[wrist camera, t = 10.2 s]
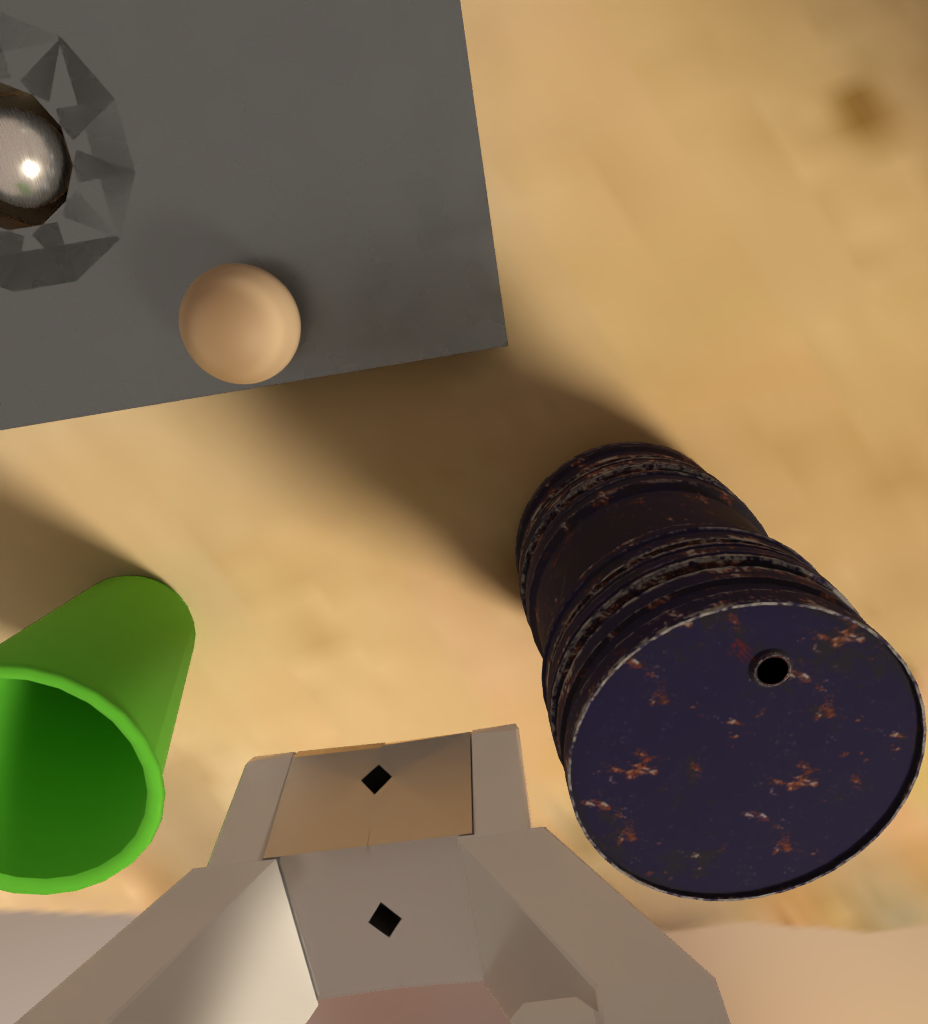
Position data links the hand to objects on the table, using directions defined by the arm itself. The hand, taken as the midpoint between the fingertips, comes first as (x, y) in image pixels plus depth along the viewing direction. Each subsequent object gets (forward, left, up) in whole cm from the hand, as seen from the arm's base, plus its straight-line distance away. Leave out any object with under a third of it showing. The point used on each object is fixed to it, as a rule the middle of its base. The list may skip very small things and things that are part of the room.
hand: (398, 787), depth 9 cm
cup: (+15, +9, -25) cm, 30 cm away
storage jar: (-7, +9, -25) cm, 28 cm away
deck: (+8, -10, -25) cm, 28 cm away
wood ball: (+6, -4, -20) cm, 21 cm away
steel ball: (+12, -10, -23) cm, 28 cm away
